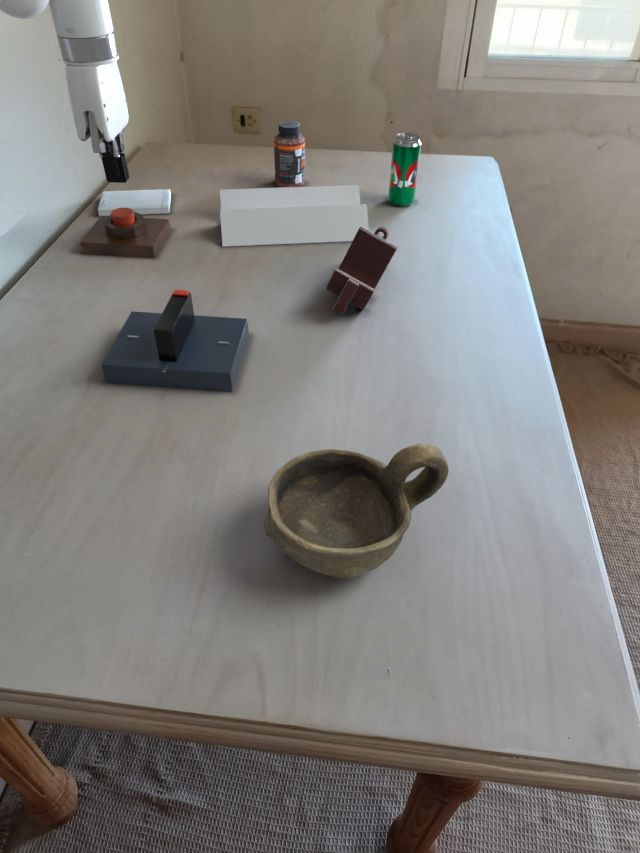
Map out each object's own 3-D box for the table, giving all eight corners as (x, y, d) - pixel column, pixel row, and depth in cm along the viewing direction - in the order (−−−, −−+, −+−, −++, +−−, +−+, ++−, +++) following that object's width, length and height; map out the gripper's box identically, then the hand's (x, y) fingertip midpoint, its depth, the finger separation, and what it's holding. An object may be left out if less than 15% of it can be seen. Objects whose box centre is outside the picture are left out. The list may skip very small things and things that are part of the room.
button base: (83, 254, 103) (77, 231, 100) (103, 227, 110) (98, 205, 107) (154, 258, 102) (150, 235, 99) (171, 231, 109) (167, 208, 107)
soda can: (414, 197, 121) (422, 132, 113) (413, 209, 117) (421, 142, 109) (388, 196, 122) (394, 130, 113) (386, 206, 118) (392, 140, 110)
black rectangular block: (176, 361, 77) (171, 329, 74) (159, 360, 77) (152, 328, 74) (195, 321, 84) (190, 289, 80) (178, 320, 84) (173, 288, 80)
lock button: (110, 226, 102) (107, 216, 101) (117, 217, 105) (115, 206, 104) (131, 227, 102) (129, 217, 101) (138, 218, 105) (136, 208, 104)
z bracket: (363, 251, 114) (369, 240, 107) (224, 257, 111) (222, 246, 105) (358, 185, 114) (364, 170, 108) (220, 190, 112) (217, 175, 105)
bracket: (316, 303, 88) (349, 240, 82) (341, 269, 102) (370, 213, 96) (355, 325, 88) (389, 263, 82) (374, 287, 102) (404, 233, 97)
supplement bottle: (307, 188, 123) (308, 128, 116) (278, 191, 122) (276, 130, 115) (301, 177, 128) (301, 117, 120) (272, 179, 127) (270, 119, 119)
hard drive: (97, 209, 112) (168, 205, 113) (102, 190, 118) (169, 187, 119) (99, 218, 113) (169, 214, 114) (104, 199, 119) (171, 195, 120)
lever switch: (104, 386, 78) (98, 366, 76) (136, 327, 88) (132, 307, 86) (231, 395, 77) (229, 375, 75) (249, 334, 87) (248, 315, 85)
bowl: (254, 496, 65) (248, 426, 59) (412, 468, 69) (423, 399, 62) (280, 611, 56) (276, 543, 49) (462, 572, 59) (483, 504, 52)
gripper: (82, 34, 92) (111, 161, 105) (40, 61, 81) (78, 199, 94) (132, 35, 92) (155, 163, 104) (96, 63, 81) (127, 201, 93)
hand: (118, 180), depth 99 cm, fingers closed
